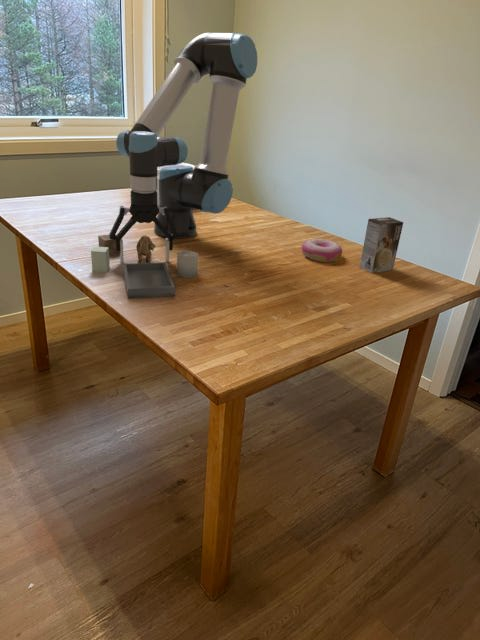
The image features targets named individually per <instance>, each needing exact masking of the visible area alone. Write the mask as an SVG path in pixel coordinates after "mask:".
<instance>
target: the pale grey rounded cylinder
mask: <svg viewBox="0 0 480 640" xmlns="http://www.w3.org/2000/svg"><path fill="white" fill-rule="evenodd" d="M198 270H199V253H197V252H195V251H191V250H182V251H178V252H177V255H176V276H178V277H180V278H184V279H192V278H196V277H198V275H199V274H198Z"/></svg>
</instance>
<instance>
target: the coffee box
mask: <svg viewBox="0 0 480 640" xmlns="http://www.w3.org/2000/svg"><path fill="white" fill-rule="evenodd" d="M403 226H404V221H401V220H398V219H396V218H393V217H388V216H387V217H376V218H368V220H367V225H366V231H365V236H364V242H363V247H362V251H361V257H360V261H359V267H360V268H361V269H363V270H366V271H367V272H368V273H371V274H373V273H374V274H375V273H381V272H388V271H389V272H390V271H393V270H394V266H395V261H396V256H397V253H398V248H399V243H400V239H401V234H402V231H403Z"/></svg>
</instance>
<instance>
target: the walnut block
mask: <svg viewBox="0 0 480 640" xmlns="http://www.w3.org/2000/svg"><path fill="white" fill-rule="evenodd" d="M97 238H98V247H109V256H114V255H120V251H117V250H116V241H115V240H113V239H110V237H109V234H103V235H97Z"/></svg>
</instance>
